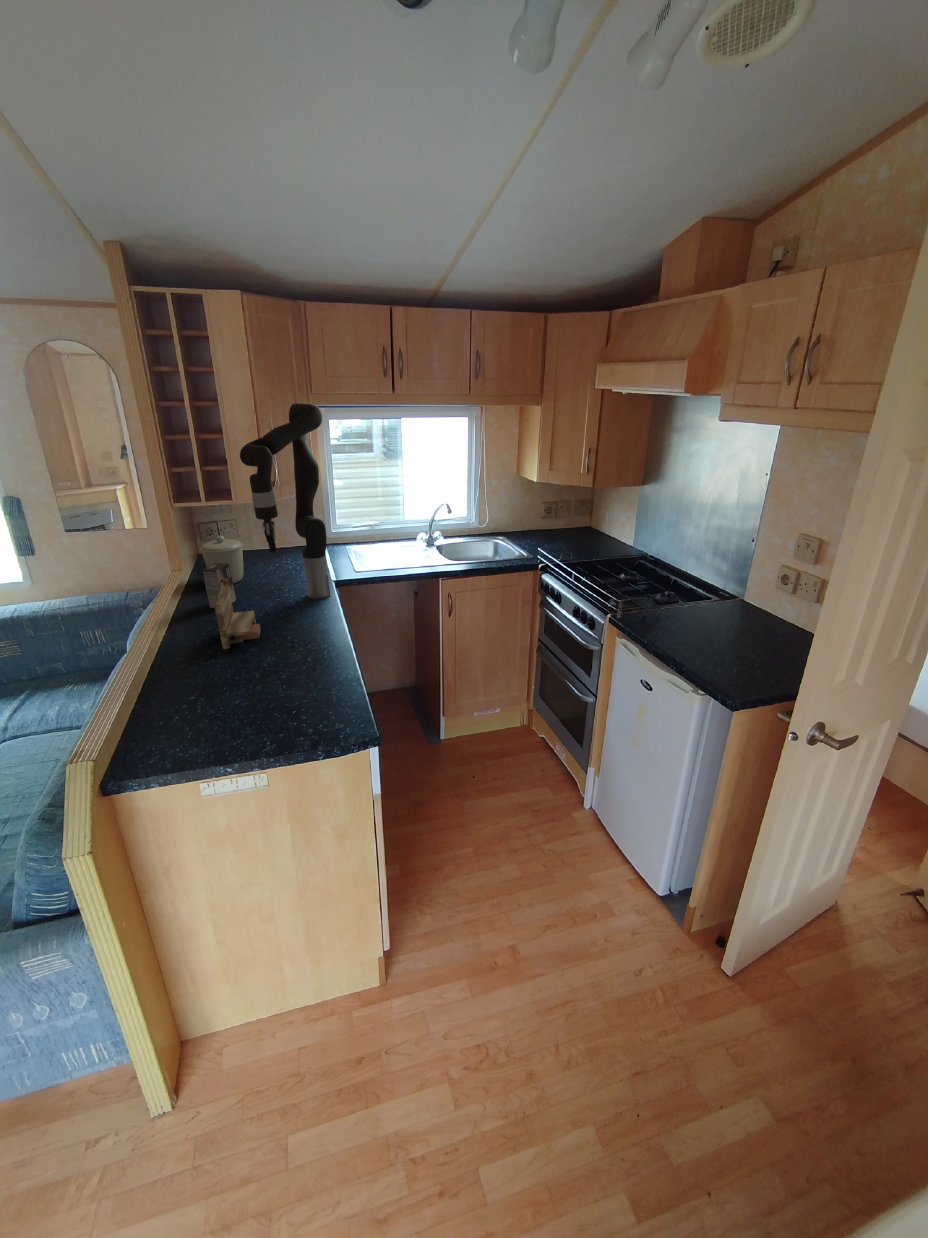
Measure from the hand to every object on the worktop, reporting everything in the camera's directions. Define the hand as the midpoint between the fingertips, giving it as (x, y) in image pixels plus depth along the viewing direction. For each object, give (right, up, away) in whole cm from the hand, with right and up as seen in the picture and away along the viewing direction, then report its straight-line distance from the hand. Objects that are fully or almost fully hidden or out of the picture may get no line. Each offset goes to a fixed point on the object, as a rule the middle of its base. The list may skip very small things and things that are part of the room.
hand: (273, 551), depth 203 cm
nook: (-10, -31, -5) cm, 33 cm away
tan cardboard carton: (-7, -30, -5) cm, 32 cm away
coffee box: (-28, -19, +24) cm, 42 cm away
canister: (-38, -8, +50) cm, 63 cm away
